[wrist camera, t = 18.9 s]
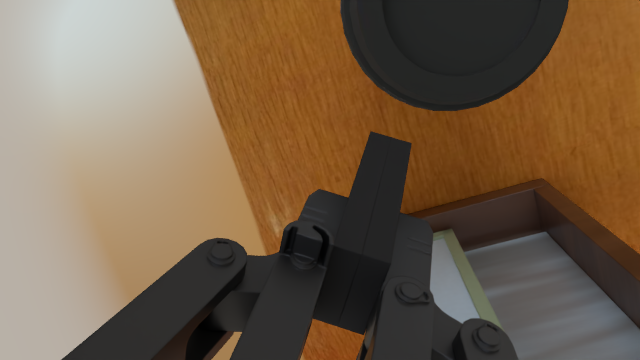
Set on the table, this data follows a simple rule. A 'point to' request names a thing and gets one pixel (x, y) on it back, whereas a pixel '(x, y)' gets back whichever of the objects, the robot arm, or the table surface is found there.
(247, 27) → the table surface
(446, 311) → the window sash
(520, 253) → the window frame
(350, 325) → the robot arm
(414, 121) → the table surface
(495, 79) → the coffee cup
